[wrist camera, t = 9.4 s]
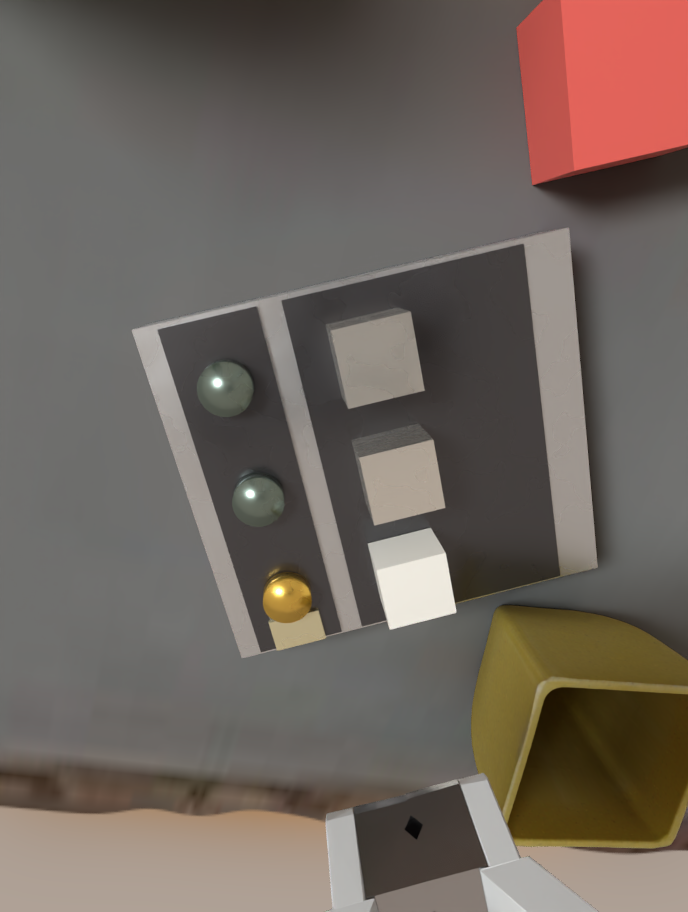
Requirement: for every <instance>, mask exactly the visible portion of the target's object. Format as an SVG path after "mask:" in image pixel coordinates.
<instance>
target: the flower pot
mask: <svg viewBox="0 0 688 912" xmlns="http://www.w3.org/2000/svg"><path fill="white" fill-rule="evenodd" d="M471 736H472V747H473V753H474V757H475V762H476V766H477V770H478V774H481V773H484V774H485V775H486V776H487V777H488V780H489V782H490V784H491V787H492V789H493V792H494V794H495V797H496V799H497V801H498V804H499V806H500V809H501V811H502V813H503V816H504V818H505V821H506V823H507V826H508V828H509V830H510V833H511V835H512V838H513V840H514V842H515V845H516V846H526V847H527V846H528V847H532V846H533V847H535V846H562V847H568V846H573V847H616V848H658V847H664V846H669V845H670V844H672V842H673V840H674V839H675V837H676V835H677V832H678V830H679V828H680V825H681V822H682V820H683V817H684V814H685V811H686V808H687V805H688V660H687V659H685V658H684V657H682V656H681V655H679V654H678V653H677V652H675V651H674V650H672V649H671V648H669V647H668V646H666V645H665V644H663V643H662V642H660V641H659V640H658V639H656V638H655V637H653V636H651V635H650V634H648V633H646V632H645V631H643V630H641V629H639V628H637V627H635V626H632V625H630V624H628V623H625V622H622V621H619V620H616V619H613V618H609V617H606V616H602V615H597V614H592V613H586V612H580V611H573V610H561V609H547V608H535V607H525V606H513V605H502V606H499V607H497V609H496V610H495V612H494V615H493V619H492V623H491V627H490V631H489V635H488V639H487V643H486V647H485V651H484V655H483V659H482V663H481V667H480V670H479V674H478V678H477V683H476V688H475V693H474V698H473V705H472V717H471Z"/></svg>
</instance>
